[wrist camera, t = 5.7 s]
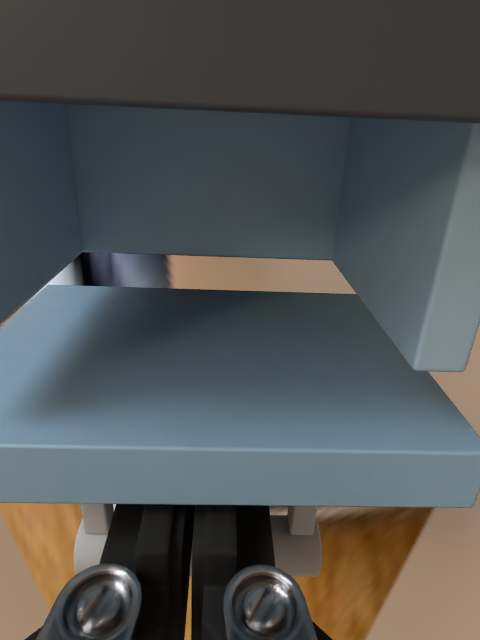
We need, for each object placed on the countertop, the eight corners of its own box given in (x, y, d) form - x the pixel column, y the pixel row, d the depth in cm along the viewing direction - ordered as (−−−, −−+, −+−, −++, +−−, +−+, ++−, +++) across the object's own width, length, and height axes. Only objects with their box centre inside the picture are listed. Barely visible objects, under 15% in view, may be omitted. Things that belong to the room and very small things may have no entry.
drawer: (339, 452, 15) (412, 674, 9) (72, 448, 15) (-36, 676, 9) (440, -122, 9) (909, -658, 3) (-20, -155, 9) (-651, -851, 2)
